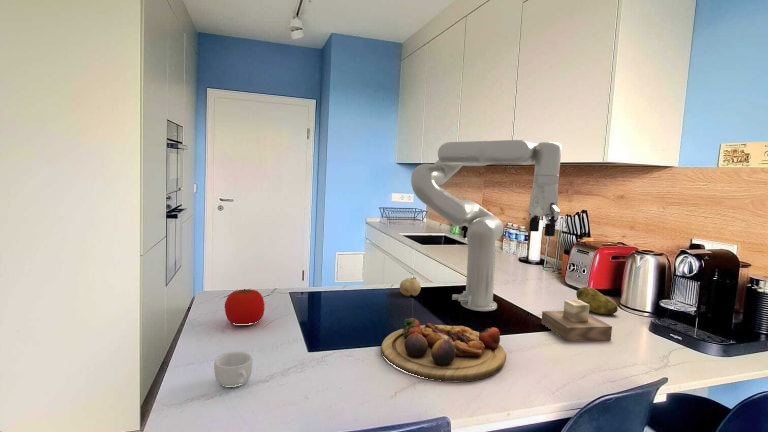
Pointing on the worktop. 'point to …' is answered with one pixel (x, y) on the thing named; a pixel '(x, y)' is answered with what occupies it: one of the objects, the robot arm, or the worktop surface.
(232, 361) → the teacup
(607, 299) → the green pickle
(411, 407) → the worktop surface
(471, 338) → the wooden plate with food
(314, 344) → the worktop surface
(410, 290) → the cream round lump
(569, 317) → the maple cube
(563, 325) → the walnut base block
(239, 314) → the tomato
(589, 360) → the worktop surface
